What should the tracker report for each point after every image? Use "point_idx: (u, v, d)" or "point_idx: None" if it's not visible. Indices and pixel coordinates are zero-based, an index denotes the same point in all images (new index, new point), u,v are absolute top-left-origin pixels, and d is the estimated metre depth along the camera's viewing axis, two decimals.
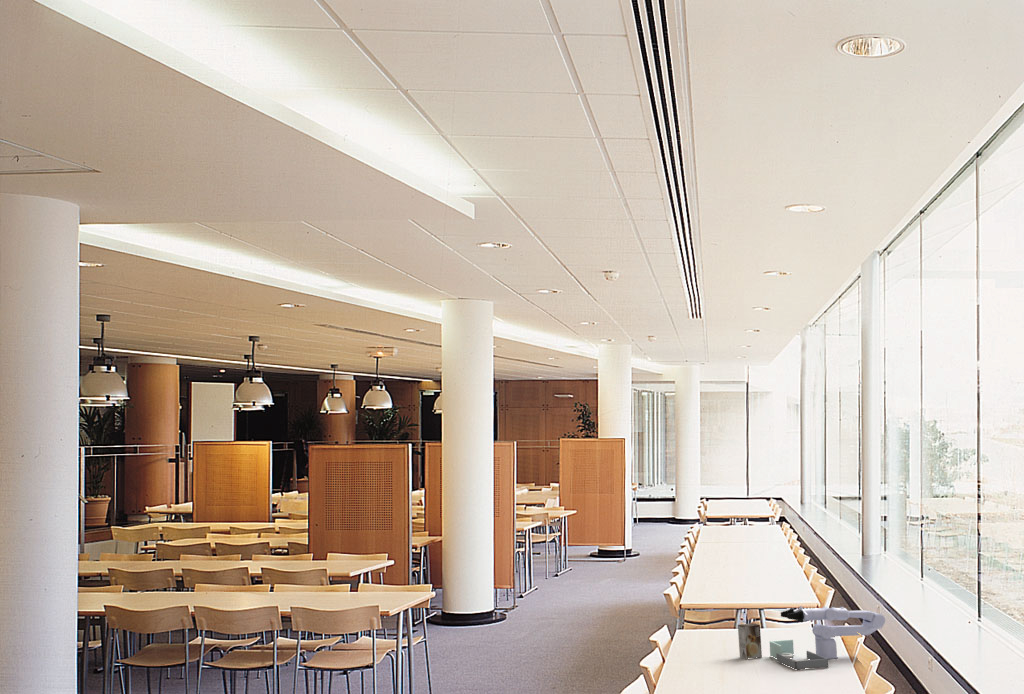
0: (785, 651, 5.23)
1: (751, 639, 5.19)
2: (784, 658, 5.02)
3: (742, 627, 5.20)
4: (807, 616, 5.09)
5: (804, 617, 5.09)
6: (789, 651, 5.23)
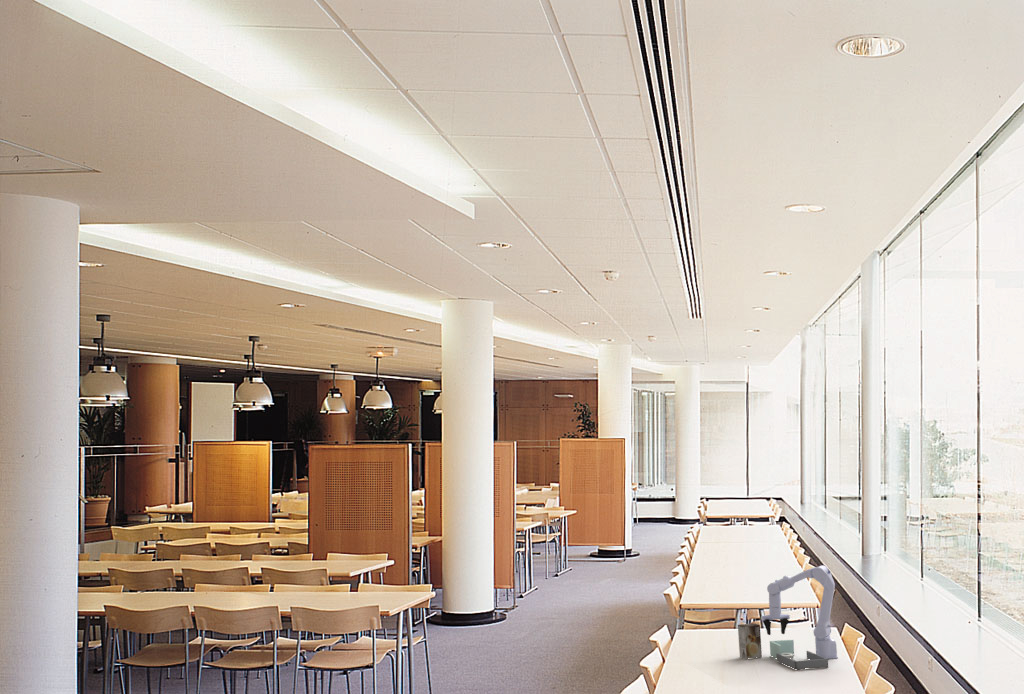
0: (785, 651, 5.23)
1: (751, 639, 5.19)
2: (784, 658, 5.02)
3: (742, 627, 5.20)
4: (761, 617, 5.28)
5: None
6: (789, 651, 5.24)
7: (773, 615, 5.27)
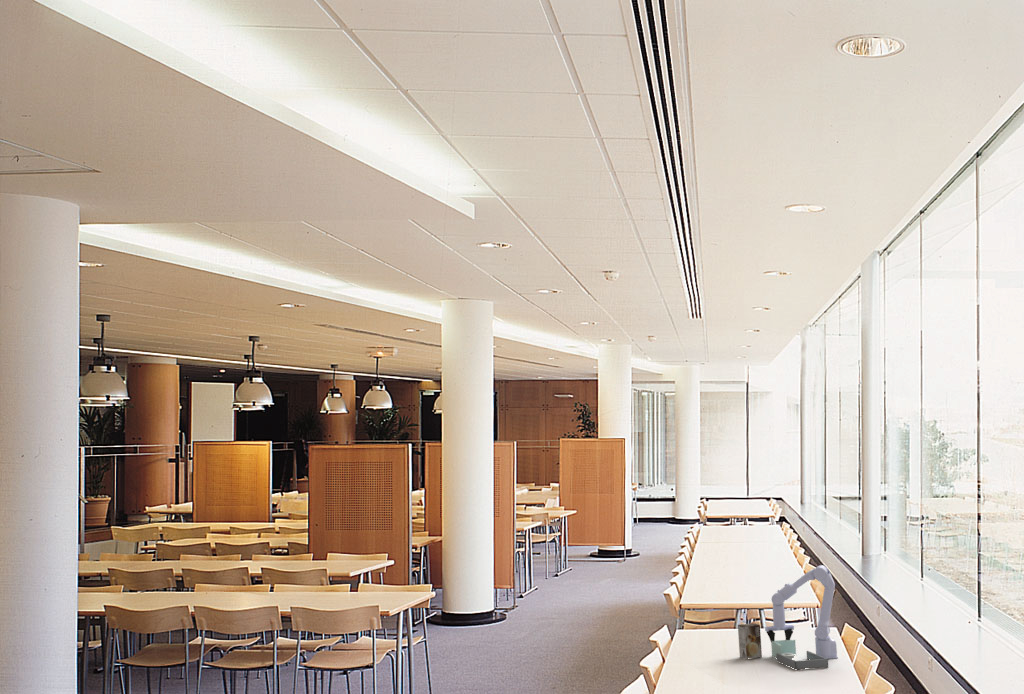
0: (787, 651, 5.23)
1: (751, 639, 5.19)
2: (784, 658, 5.02)
3: (742, 627, 5.20)
4: (765, 628, 5.24)
5: None
6: (791, 651, 5.23)
7: (777, 626, 5.23)
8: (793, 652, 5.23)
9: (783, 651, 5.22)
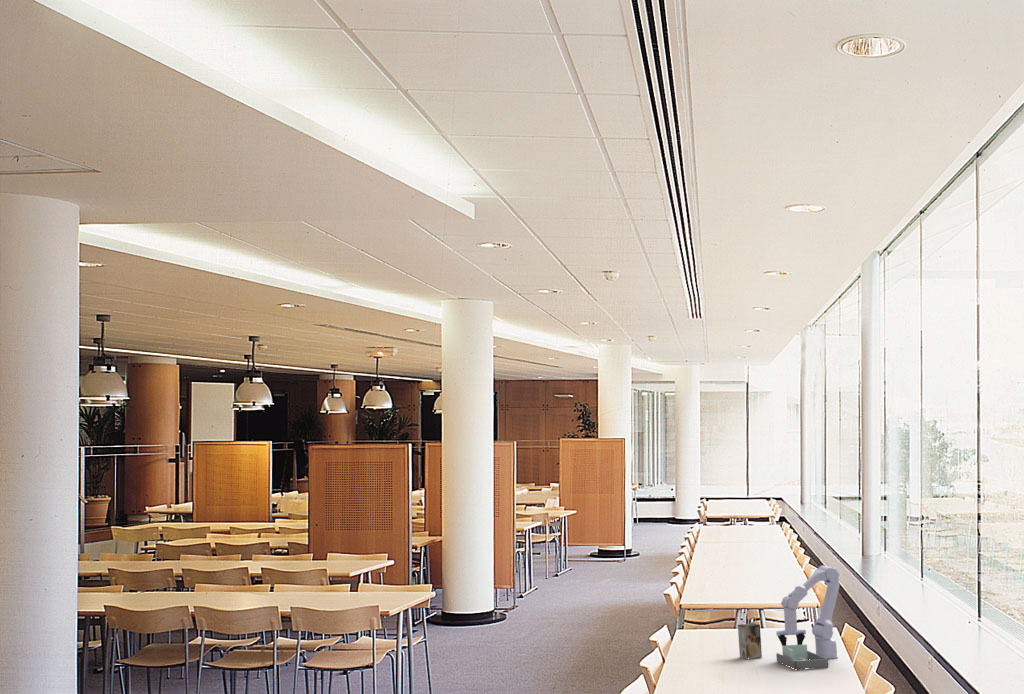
0: (798, 656, 5.10)
1: (751, 639, 5.19)
2: (784, 658, 5.02)
3: (742, 627, 5.20)
4: (777, 633, 5.12)
5: (778, 635, 5.11)
6: (803, 656, 5.10)
7: (789, 630, 5.11)
8: (804, 657, 5.10)
9: (794, 656, 5.10)
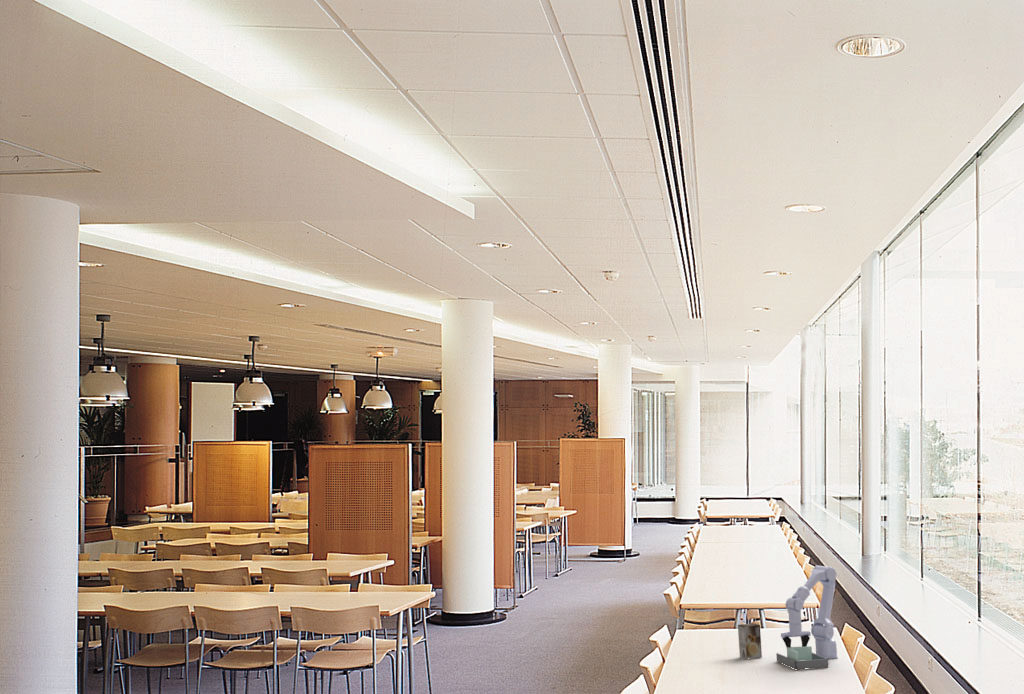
0: (803, 658, 5.05)
1: (751, 639, 5.19)
2: (784, 658, 5.02)
3: (742, 627, 5.20)
4: (781, 634, 5.07)
5: (783, 637, 5.06)
6: (807, 658, 5.06)
7: (793, 632, 5.06)
8: (809, 659, 5.06)
9: (799, 658, 5.05)
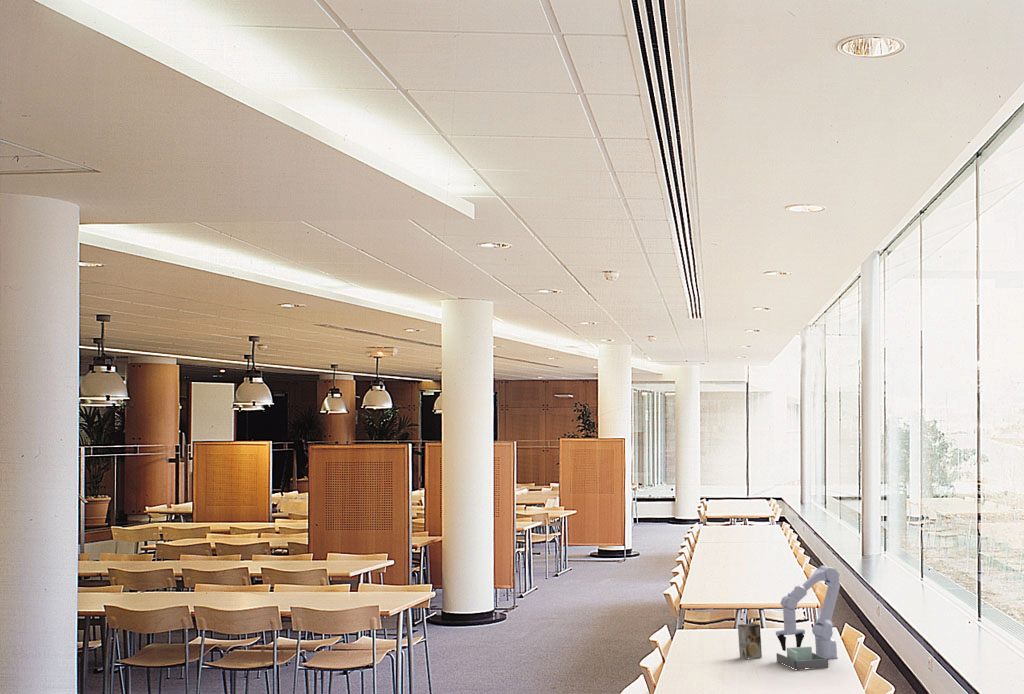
0: (803, 658, 5.06)
1: (751, 639, 5.19)
2: (784, 658, 5.02)
3: (742, 627, 5.20)
4: (776, 632, 5.12)
5: (778, 635, 5.12)
6: (807, 658, 5.06)
7: (788, 630, 5.12)
8: (809, 659, 5.06)
9: (799, 658, 5.05)
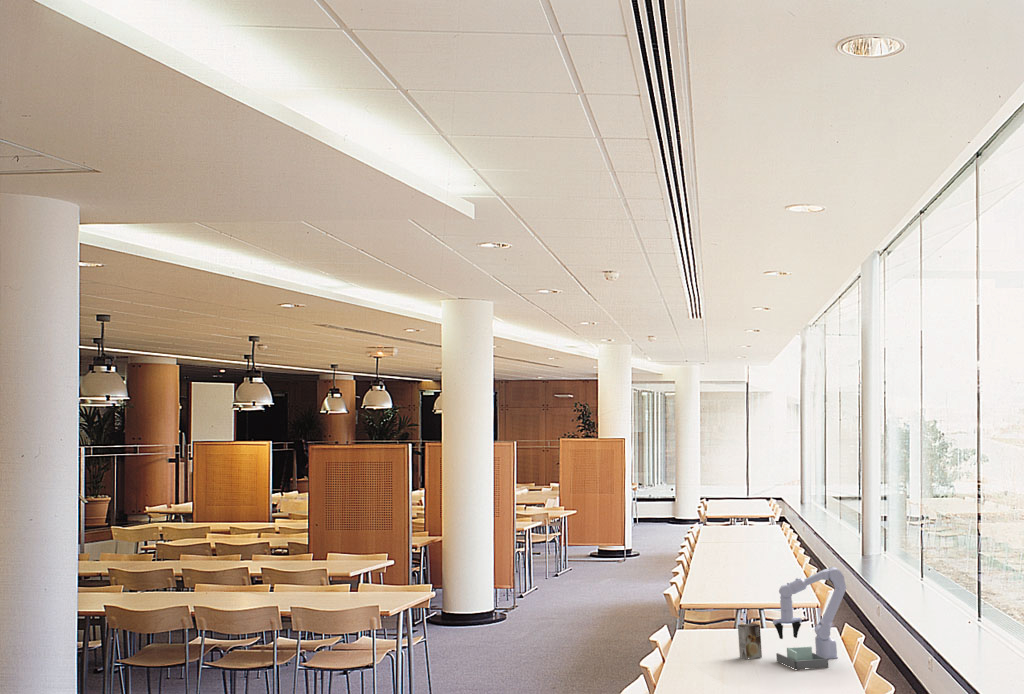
0: (803, 658, 5.06)
1: (751, 639, 5.19)
2: (784, 658, 5.02)
3: (742, 627, 5.20)
4: (773, 621, 5.19)
5: (775, 624, 5.18)
6: (807, 658, 5.06)
7: (785, 619, 5.18)
8: (809, 659, 5.06)
9: (799, 658, 5.06)
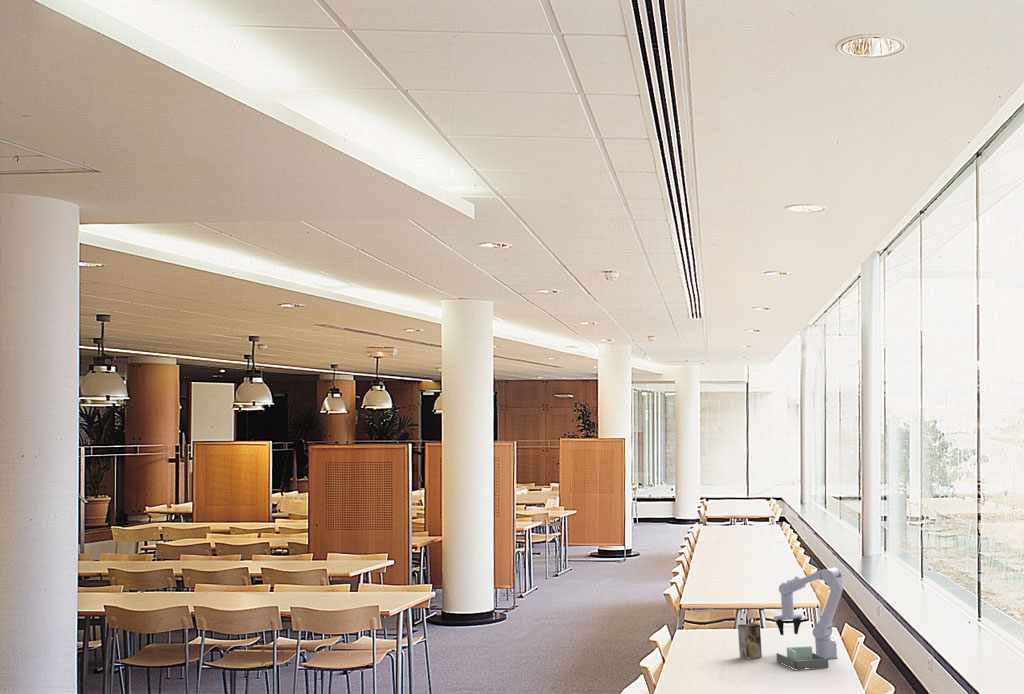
0: (803, 658, 5.06)
1: (751, 639, 5.19)
2: (784, 658, 5.02)
3: (742, 627, 5.20)
4: (774, 617, 5.28)
5: (776, 620, 5.27)
6: (808, 658, 5.06)
7: (786, 615, 5.27)
8: (810, 659, 5.06)
9: (799, 658, 5.06)
